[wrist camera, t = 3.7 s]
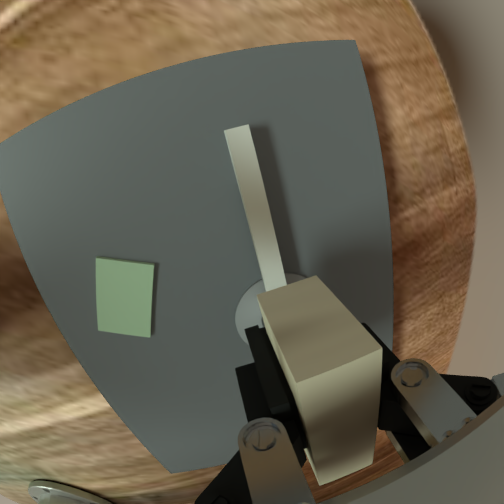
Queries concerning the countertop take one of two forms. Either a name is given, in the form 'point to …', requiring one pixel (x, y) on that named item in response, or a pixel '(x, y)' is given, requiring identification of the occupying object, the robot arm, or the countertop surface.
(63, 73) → the countertop surface
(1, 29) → the countertop surface
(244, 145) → the key
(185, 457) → the board
